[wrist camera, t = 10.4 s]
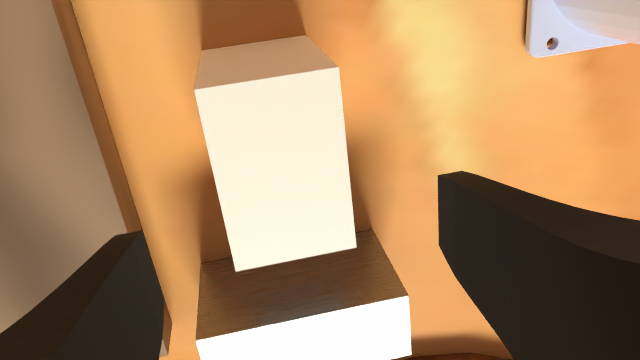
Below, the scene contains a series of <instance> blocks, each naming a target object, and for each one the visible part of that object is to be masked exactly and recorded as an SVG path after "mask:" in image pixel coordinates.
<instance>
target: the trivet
mask: <svg viewBox="0 0 640 360" xmlns="http://www.w3.org/2000/svg"><path fill="white" fill-rule="evenodd" d="M405 360H510V359H504V358H498V357H492V356H485V355H479V354H473V353H461V354H447V355H434V356H420V357H412V358H408V359H405Z"/></svg>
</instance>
